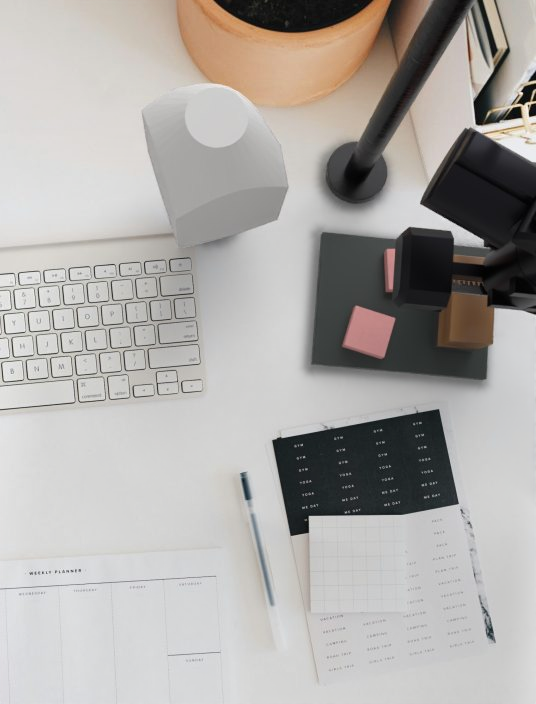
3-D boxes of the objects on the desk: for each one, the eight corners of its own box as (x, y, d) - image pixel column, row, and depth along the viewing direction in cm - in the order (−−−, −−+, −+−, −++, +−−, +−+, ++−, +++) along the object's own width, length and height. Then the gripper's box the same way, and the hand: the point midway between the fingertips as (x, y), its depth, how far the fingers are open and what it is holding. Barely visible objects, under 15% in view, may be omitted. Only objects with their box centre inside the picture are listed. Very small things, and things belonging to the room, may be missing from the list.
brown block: (476, 272, 73) (497, 258, 68) (472, 352, 72) (493, 344, 67) (436, 268, 73) (454, 254, 68) (432, 348, 72) (449, 340, 67)
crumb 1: (392, 320, 72) (395, 318, 71) (381, 359, 71) (384, 357, 70) (353, 307, 72) (355, 305, 71) (341, 346, 71) (344, 344, 70)
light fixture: (270, 240, 73) (297, 159, 53) (180, 266, 72) (173, 195, 52) (242, 152, 74) (258, 41, 54) (152, 178, 73) (135, 74, 53)
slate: (488, 251, 74) (492, 248, 73) (482, 380, 73) (486, 379, 72) (320, 234, 73) (322, 231, 72) (311, 364, 72) (312, 363, 71)
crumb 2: (424, 251, 73) (427, 248, 72) (426, 291, 72) (429, 289, 71) (383, 252, 72) (386, 248, 71) (385, 292, 72) (388, 289, 71)
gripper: (686, 156, 53) (576, 224, 69) (431, 130, 52) (378, 204, 68) (684, 308, 52) (572, 342, 67) (422, 283, 51) (370, 323, 67)
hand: (473, 299), depth 67 cm, fingers open, 9 cm apart
